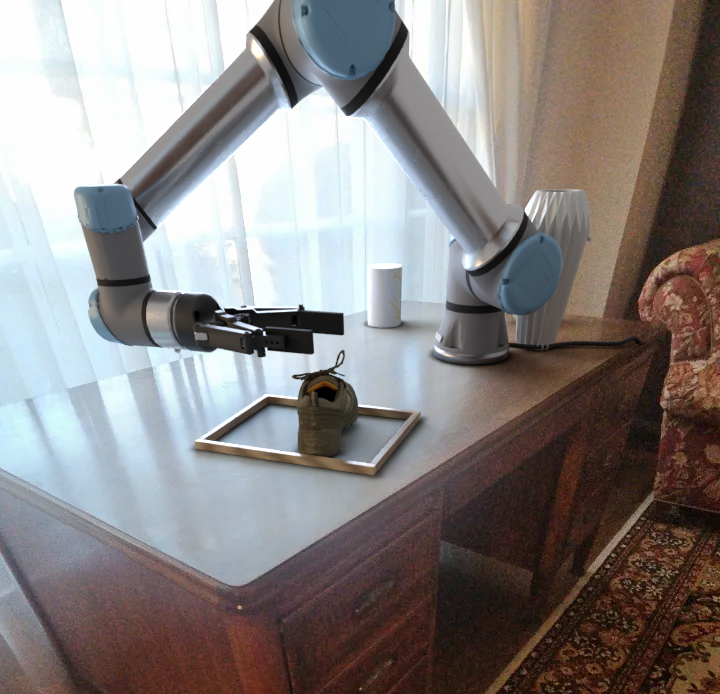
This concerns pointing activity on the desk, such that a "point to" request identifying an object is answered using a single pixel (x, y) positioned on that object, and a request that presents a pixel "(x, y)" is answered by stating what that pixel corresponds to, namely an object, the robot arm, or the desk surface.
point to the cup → (384, 294)
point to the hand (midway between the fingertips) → (328, 332)
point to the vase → (570, 230)
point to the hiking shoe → (324, 411)
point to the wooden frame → (371, 468)
